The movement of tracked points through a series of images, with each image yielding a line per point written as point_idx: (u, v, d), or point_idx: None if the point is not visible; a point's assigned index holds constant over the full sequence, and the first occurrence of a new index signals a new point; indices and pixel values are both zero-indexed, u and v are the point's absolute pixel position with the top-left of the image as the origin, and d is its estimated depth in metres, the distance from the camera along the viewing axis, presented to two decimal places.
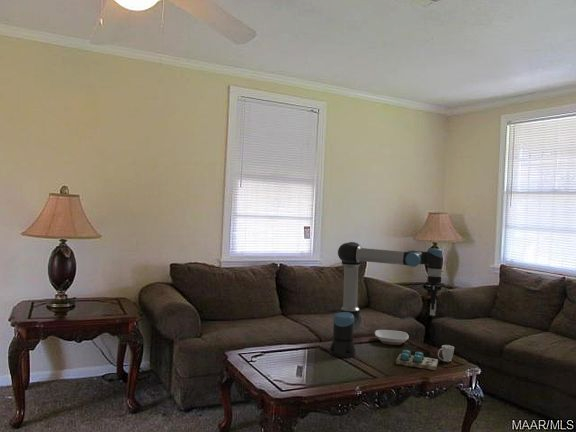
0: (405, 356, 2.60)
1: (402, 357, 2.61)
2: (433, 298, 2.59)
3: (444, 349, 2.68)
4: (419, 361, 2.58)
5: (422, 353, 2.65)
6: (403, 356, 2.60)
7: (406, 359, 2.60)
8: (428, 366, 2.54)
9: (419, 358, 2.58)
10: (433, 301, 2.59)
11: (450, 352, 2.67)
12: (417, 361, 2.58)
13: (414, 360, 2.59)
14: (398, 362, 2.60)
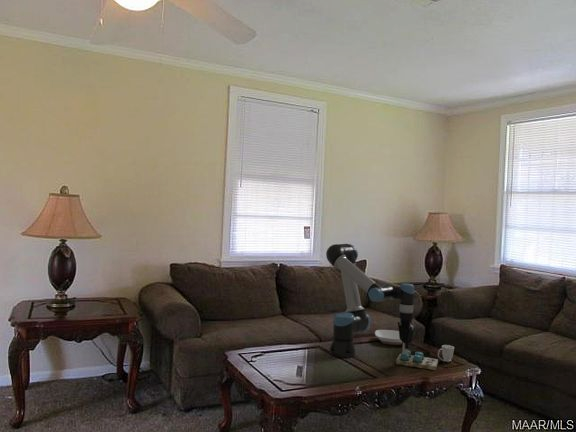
0: (405, 356, 2.60)
1: (402, 357, 2.61)
2: (410, 338, 2.59)
3: (444, 349, 2.68)
4: (419, 361, 2.58)
5: (422, 353, 2.65)
6: (403, 357, 2.60)
7: (406, 359, 2.60)
8: (428, 366, 2.54)
9: (419, 358, 2.58)
10: (410, 341, 2.59)
11: (450, 352, 2.67)
12: (417, 361, 2.58)
13: (414, 360, 2.59)
14: (398, 362, 2.60)
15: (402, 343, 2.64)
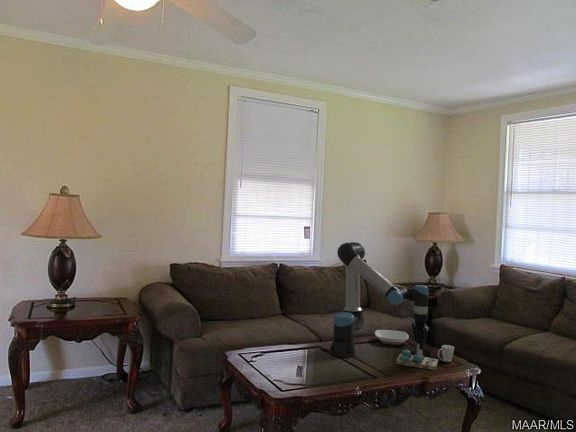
0: (405, 359, 2.60)
1: (402, 360, 2.61)
2: (425, 339, 2.62)
3: (444, 349, 2.68)
4: (419, 361, 2.58)
5: (422, 355, 2.65)
6: (403, 359, 2.60)
7: None
8: (428, 366, 2.54)
9: (419, 358, 2.58)
10: (424, 342, 2.62)
11: (450, 352, 2.67)
12: (417, 361, 2.58)
13: (414, 360, 2.59)
14: (398, 362, 2.60)
15: None
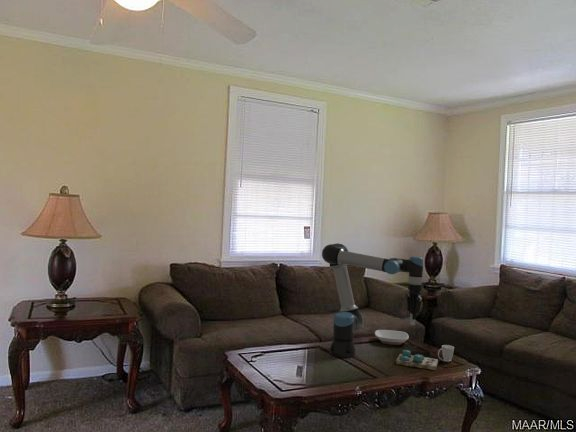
0: (405, 359, 2.60)
1: (402, 360, 2.61)
2: (418, 309, 2.66)
3: (444, 349, 2.68)
4: (419, 361, 2.58)
5: (422, 356, 2.65)
6: (403, 359, 2.60)
7: None
8: (428, 366, 2.54)
9: (419, 358, 2.58)
10: (417, 312, 2.67)
11: (450, 352, 2.67)
12: (417, 361, 2.58)
13: (414, 360, 2.59)
14: (398, 362, 2.60)
15: (410, 314, 2.72)
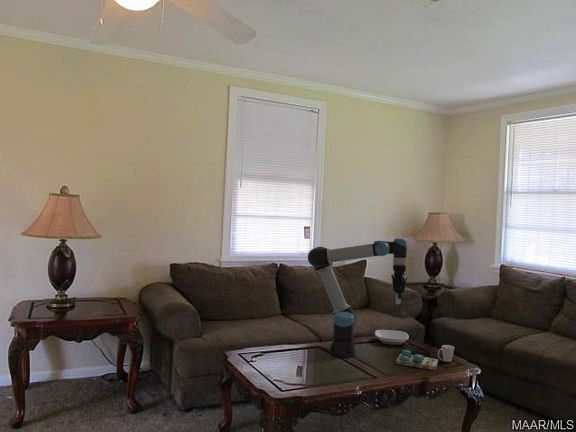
0: (405, 359, 2.60)
1: (402, 360, 2.61)
2: (403, 289, 2.77)
3: (444, 349, 2.68)
4: (419, 361, 2.58)
5: (422, 356, 2.65)
6: (403, 359, 2.60)
7: None
8: (428, 366, 2.54)
9: (419, 358, 2.58)
10: (402, 291, 2.78)
11: (450, 352, 2.67)
12: (417, 361, 2.58)
13: (414, 360, 2.59)
14: (398, 362, 2.60)
15: None
